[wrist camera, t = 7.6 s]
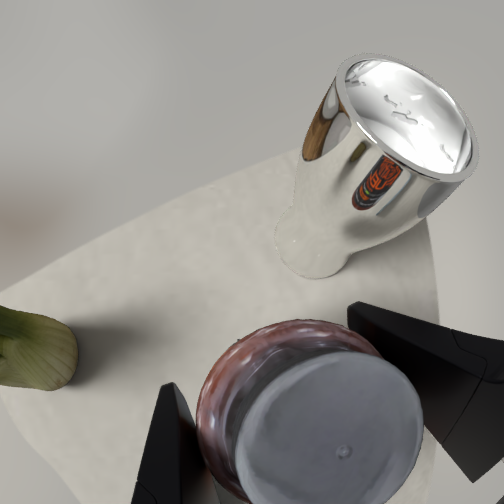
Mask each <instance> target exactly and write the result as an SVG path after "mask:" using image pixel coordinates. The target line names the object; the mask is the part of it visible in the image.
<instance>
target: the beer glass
mask: <svg viewBox="0 0 504 504" xmlns="http://www.w3.org/2000/svg"><path fill="white" fill-rule="evenodd" d="M478 159H479V146H478V141H477V137H476V134H475V131H474V129H473V126H472V124H471V122H470V121H469V119H468V117H467V116H466V113H465V112H464V110H463V109H462V108H461V106H460V105H459V104H458V102H457V101H456V100H455V99H454V97H453V96H452V95H451V94H450V93H449V92H448V91H447V90H446V89H445V88H444V87H443V86H442V85H441V84H439V83H438V82H437V81H435V80H434V79H433V78H432V77H430V76H429V75H428V74H426V73H424V72H423V71H422V70H420V69H418V68H416V67H415V66H413V65H410V64H409V63H406V62H404V61H402V60H399V59H396V58H393V57H390V56H386V55H381V54H372V53H369V54H368V53H366V54H359V55H355V56H352V57H350V58H348V59H346V60H345V61H344V62H343V63H342V64H341V65H340V67H339V68H338V70H337V74H336V76H335V78H334V80H333V82H332V84H331V86H330V88H329V89H328V91H327V93H326V95H325V96H324V98H323V100H322V102H321V104H320V106H319V108H318V110H317V112H316V113H315V116H314V118H313V120H312V122H311V125H310V127H309V129H308V131H307V134H306V137H305V140H304V142H303V145H302V148H301V151H300V155H299V160H298V165H297V170H296V177H295V186H294V196H293V204H292V206H290V207H289V208H288V209H287V210H286V211H285V212H284V213H283V215H282V216H281V217H280V219H279V221H278V223H277V225H276V228H275V235H274V239H275V246H276V250H277V252H278V255H279V256H280V258H281V260H282V261H283V262H284V264H285V265H286V266H287V267H288V268H289V269H291V270H292V271H293V272H295V273H297V274H299V275H301V276H303V277H307V278H314V279H318V278H325V277H329V276H331V275H333V274H335V273H336V272H338V271H339V270H340V269H341V268H342V267H343V266H344V265H345V263H346V262H347V261H348V259H349V257H350V256H351V254H353V253H355V252H358V251H361V250H364V249H367V248H370V247H373V246H376V245H379V244H382V243H384V242H386V241H388V240H391V239H393V238H395V237H397V236H399V235H401V234H402V233H404V232H406V231H407V230H409V229H410V228H412V227H413V226H415V225H416V224H418V223H419V222H420V221H422V220H423V219H424V218H425V217H426V216H428V215H429V214H430V213H431V212H432V211H434V210H435V209H436V208H437V207H438V206H439V205H440V204H441V203H442V202H443V201H444V200H445V199H447V198H448V197H449V196H450V195H451V194H452V192H453V191H454V190H455V189H456V188H457V187H458V186H459V185H460V184H461V183H462V182H463V181H464V180H465V179H467V178H468V177H470V176H471V175H472V174H473V172H474V171H475V169H476V167H477V164H478Z"/></svg>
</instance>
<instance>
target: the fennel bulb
mask: <svg viewBox="0 0 504 504" xmlns="http://www.w3.org/2000/svg"><path fill="white" fill-rule="evenodd" d="M77 361H78V348H77V342H76V338H75V336H74V334H73V333H72V332H71V330H70V328H69V327H67V326H66V325H65V324H63V323H61V322H59V321H57V320H56V319H53V318H49V317H47V316H44V315H38V314H33V313H28V312H23V311H16V310H12V309H9V308H6V307H3V306H1V305H0V385H4V386H11V387H22V388H33V389H40V390H45V391H54V390H57V389H60V388H62V387H63V386H65V385H66V384H67V383H68V382H69V381H70V379H71V378H72V376H73V374H74V373H75V370H76V367H77Z"/></svg>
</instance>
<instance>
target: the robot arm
mask: <svg viewBox="0 0 504 504" xmlns="http://www.w3.org/2000/svg"><path fill="white" fill-rule="evenodd" d="M347 323H348V328H349V329H350V330H352V331H355V332H356V333H357V334H359V335H360V336H362V337H363V338H364V339H367V340H368V342H369V343H371V344H372V345H373V346H374V347H375V349H376V350H377V351H378V352H379V353H380V354H381V355H382V357H383V358H384V360H386V361H388V362H390V363H391V364H392V365H394V366H396V367H397V368H398V369H399V370H400V371H401V372H402V373H403V374H405V375H406V377H407V378H408V379H409V381H410V382H411V383H412V385H413V386H414V388H415V390H416V392H417V394H418V396H419V399H420V403H421V407H422V410H423V421H424V425H425V426H426V428H427V429H428V430H429V431H430V432H431V434H432V435H433V436H434V437H435V438H436V440H437V441H438V442H439V443H440V444H441V445H442V447H443V448H444V450H445V451H446V452H447V453H448V454H449V455H450V457H451V458H452V459H453V460H454V462H455V463H456V464H457V465H458V466H459V468H460V469H461V470H462V471H463V473H464V474H465V475H466V476H467V478H468V479H469V480H470V481H471V482H472V483H474V482H475V481H476V480H478V479H479V478H480V477H481V476H482V475H484V474H485V473H486V472H488V471H489V470H490V469H491V468H492V467H493V466H495V464H497V463H498V462H499V461H500V460H502V461H503V462H504V341H503V340H497V339H491V338H486V337H481V336H477V335H472V334H468V333H464V332H461V331H457V330H454V329H450V328H447V327H443V326H440V325H437V324H433V323H430V322H426V321H423V320H420V319H416V318H413V317H410V316H406V315H403V314H400V313H396V312H393V311H390V310H386V309H383V308H380V307H376V306H373V305H370V304H367V303H363V302H360V301H358V302H355V303H353V304H351V305H349V306H348V308H347ZM131 504H220V502H219V499H218V495H217V492H216V489H215V486H214V482H213V479H212V476H211V472H210V471H209V469H208V468H207V466H206V464H205V462H204V460H203V457H202V455H201V452H200V449H199V446H198V441H197V435H196V426H195V423H194V421H193V418H192V415H191V413H190V410H189V407H188V405H187V402H186V400H185V398H184V396H183V395H182V393H181V392H180V390H179V389H178V387H177V386H176V384H175V383H174V382H170V383H168V384H165V385H162V386H161V388H160V392H159V395H158V399H157V402H156V406H155V410H154V413H153V417H152V421H151V425H150V428H149V432H148V436H147V440H146V444H145V448H144V452H143V456H142V460H141V464H140V468H139V472H138V477H137V482H136V485H135V489H134V493H133V497H132V501H131ZM496 504H504V496H503V497H502V498H501V499H500V500H499V501H498V502H497V503H496Z"/></svg>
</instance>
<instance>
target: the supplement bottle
mask: <svg viewBox="0 0 504 504" xmlns="http://www.w3.org/2000/svg"><path fill="white" fill-rule="evenodd" d="M237 340H238V341H237V342H236V343H234V344H233V345H232V346H231V347H229V348H228V349H227V350H226V352H225V353H223V355H222V356H221V357H220V358H219V359H218V360H217V362H216V363H215V364H214V366H213V367H212V369H211V371H210V372H209V374H208V376H207V378H206V380H205V382H204V385H203V387H202V389H201V392H200V395H199V399H198V403H197V410H196V435H197V441H198V446H199V449H200V452H201V455H202V457H203V460H204V462H205V464H206V466H207V468H208V469H209V471H210V472H211V473H212V475H213V476H214V478H215V479H216V480H217V481H218V483H219V484H221V485H222V486H223V487H224V488H225V489H226V490H227V491H229V492H230V493H231V494H233V495H234V496H236V497H237V498H239V499H241V500H242V501H245V502H247V503H249V504H384V503H385V502H387V501H388V500H389V499H390V498H391V497H392V496H393V495H394V494H395V493H396V492H397V491H398V490H399V488H400V487H401V486H402V485H403V484H404V482H405V480H406V479H407V477H408V476H409V474H410V473H411V471H412V469H413V468H414V466H415V463H416V460H417V458H418V455H419V451H420V449H421V443H422V440H423V431H424V421H423V410H422V407H421V403H420V399H419V396H418V394H417V392H416V390H415V388H414V386H413V385H412V383H411V382H410V381H409V379H408V378H407V377H406V375H405V374H403V373H402V372H401V371H400V370H399V369H398V368H397V367H396V366H394V365H392V364H391V363H390V362H388V361H386V360H384V358H383V357H382V355H381V354H380V353H379V352H378V351H377V350H376V349H375V347H374V346H373V345H372V344H371V343H369V342H368V340H367V339H364V338H363V337H362V336H360V335H359V334H357V333H356V332H355V331H352V330H350V329H348V328H345V327H344V326H343V325H339V324H335V323H331V322H326V321H322V320H312V319H309V320H308V319H305V320H300V319H295V320H290V321H284V322H280V323H275V324H272V325H269V326H266V327H263V328H260V329H258V330H256V331H254V332H253V333H251V334H249V335H247V336H245V337H244V338H242V339H237Z"/></svg>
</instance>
